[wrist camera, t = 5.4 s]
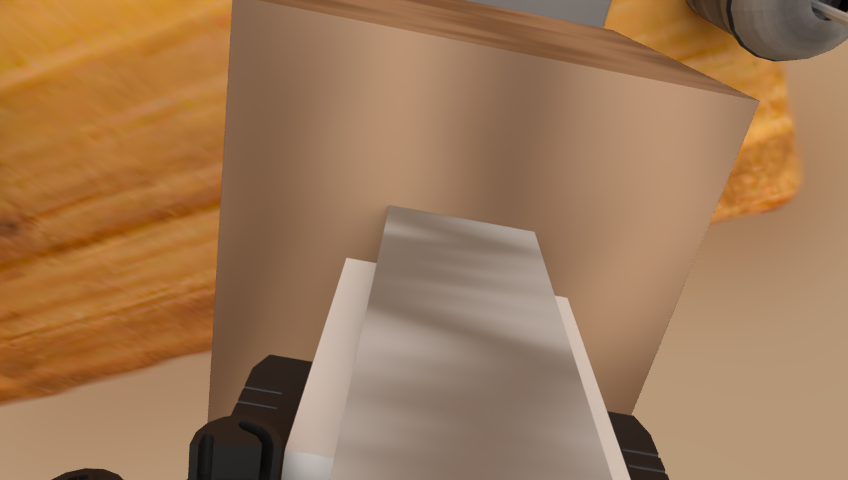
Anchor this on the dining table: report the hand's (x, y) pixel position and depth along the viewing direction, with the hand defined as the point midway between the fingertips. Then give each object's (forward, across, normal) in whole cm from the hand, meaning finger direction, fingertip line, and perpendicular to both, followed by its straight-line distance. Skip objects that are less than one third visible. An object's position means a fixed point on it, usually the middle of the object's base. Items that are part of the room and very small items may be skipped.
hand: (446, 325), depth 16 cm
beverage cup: (+36, +18, +10) cm, 41 cm away
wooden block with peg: (+17, 0, 0) cm, 17 cm away
